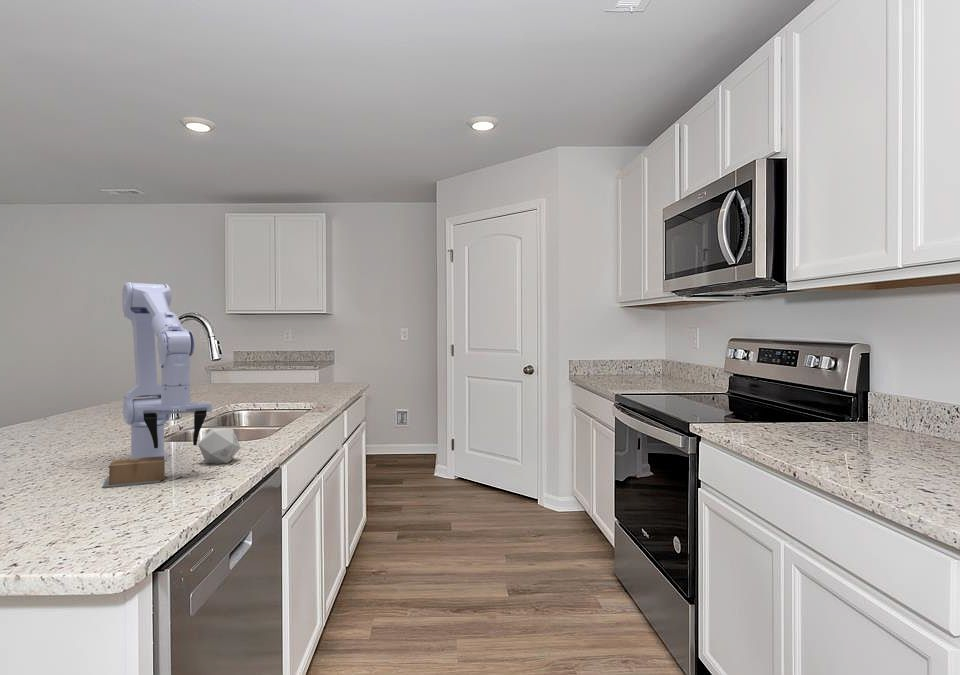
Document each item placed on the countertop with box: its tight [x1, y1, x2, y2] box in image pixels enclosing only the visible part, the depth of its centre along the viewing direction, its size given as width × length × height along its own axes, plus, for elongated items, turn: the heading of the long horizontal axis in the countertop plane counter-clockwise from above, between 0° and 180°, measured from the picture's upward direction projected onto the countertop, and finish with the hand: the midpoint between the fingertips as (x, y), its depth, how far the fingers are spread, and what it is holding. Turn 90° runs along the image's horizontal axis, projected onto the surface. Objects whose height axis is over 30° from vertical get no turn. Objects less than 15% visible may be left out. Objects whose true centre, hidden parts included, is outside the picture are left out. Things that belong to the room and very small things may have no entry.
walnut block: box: [108, 456, 165, 485], centre depth 128 cm, size 6×4×10 cm
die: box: [197, 428, 241, 464], centre depth 146 cm, size 8×9×10 cm
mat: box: [101, 476, 162, 489], centre depth 128 cm, size 9×11×1 cm
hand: (175, 446), depth 131 cm, fingers open, 7 cm apart
